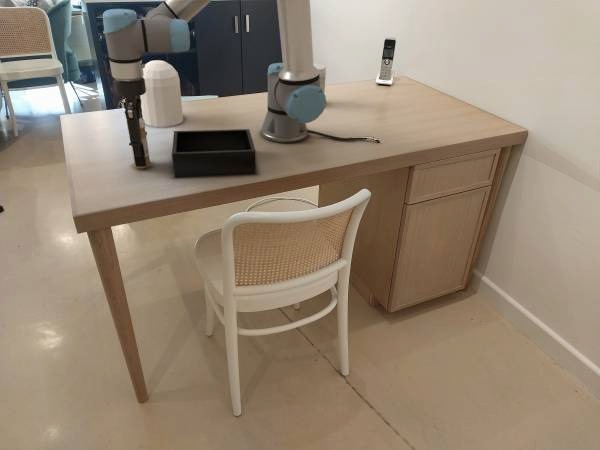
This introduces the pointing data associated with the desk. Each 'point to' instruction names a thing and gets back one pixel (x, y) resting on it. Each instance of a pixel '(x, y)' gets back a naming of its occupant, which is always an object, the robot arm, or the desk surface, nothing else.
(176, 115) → the container
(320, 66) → the supplement tub
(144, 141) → the sprinkles bottle
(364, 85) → the desk surface
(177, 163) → the black open box
